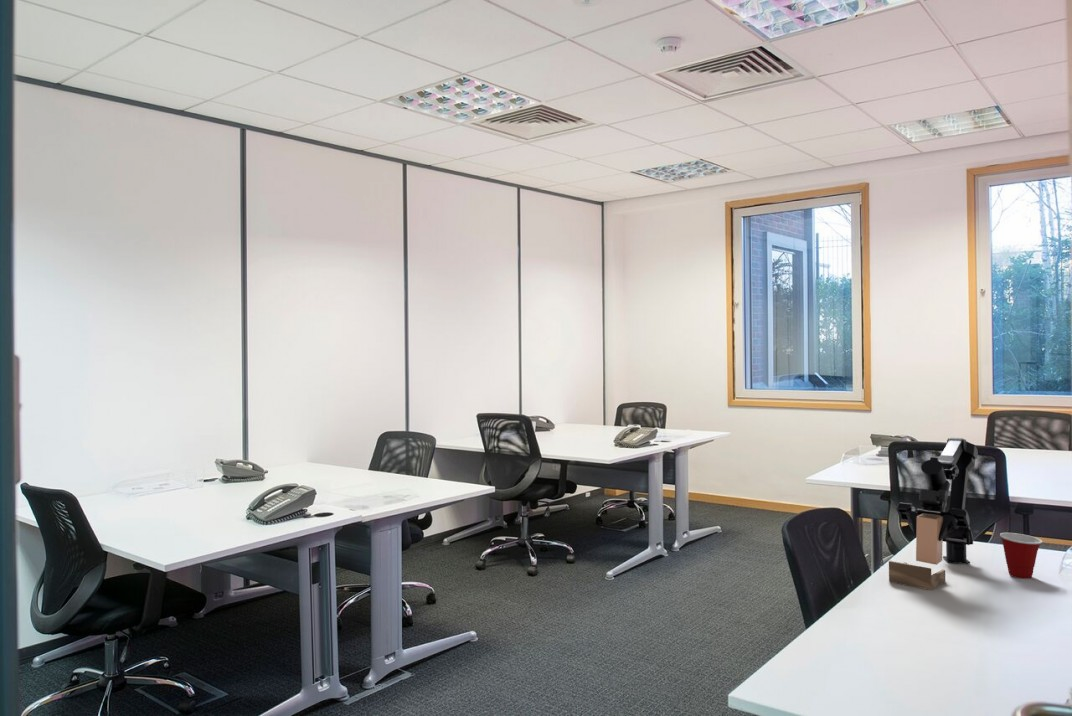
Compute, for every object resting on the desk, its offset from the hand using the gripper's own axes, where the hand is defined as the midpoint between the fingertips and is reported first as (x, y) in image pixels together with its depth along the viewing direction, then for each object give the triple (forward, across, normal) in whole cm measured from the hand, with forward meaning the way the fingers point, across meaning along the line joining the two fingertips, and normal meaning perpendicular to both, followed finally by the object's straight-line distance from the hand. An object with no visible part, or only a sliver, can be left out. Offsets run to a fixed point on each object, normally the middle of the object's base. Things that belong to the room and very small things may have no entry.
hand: (927, 538), depth 218 cm
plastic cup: (-9, +19, +29) cm, 35 cm away
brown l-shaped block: (+8, -3, +11) cm, 14 cm away
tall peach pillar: (+4, 0, +6) cm, 7 cm away
